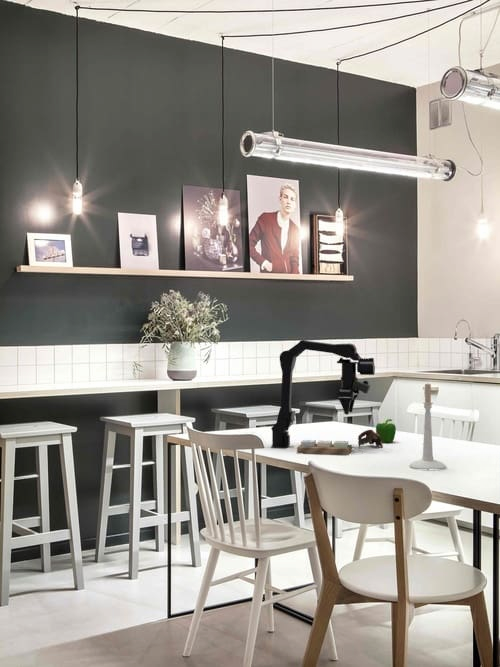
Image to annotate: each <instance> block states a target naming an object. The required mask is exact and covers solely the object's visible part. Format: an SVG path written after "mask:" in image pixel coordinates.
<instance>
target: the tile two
mask: <svg viewBox="0 0 500 667" xmlns="http://www.w3.org/2000/svg"><path fill="white" fill-rule="evenodd" d="M316 444H317V447H332V444H333V440H318V441H317V442H316Z"/></svg>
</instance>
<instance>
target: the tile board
mask: <svg viewBox="0 0 500 667" xmlns="http://www.w3.org/2000/svg"><path fill="white" fill-rule="evenodd" d="M352 451H353V444H348V448H334V443H332V447H317V443H316V446H315V447H305V446H301V444H299V445H298V446H296V454H297V453H303V454H304V455H324V456H325V455H329V456H349V455H350V454H351V453H352ZM303 454H302V455H303Z"/></svg>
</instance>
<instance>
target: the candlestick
mask: <svg viewBox="0 0 500 667" xmlns="http://www.w3.org/2000/svg"><path fill="white" fill-rule="evenodd" d="M431 386H432V385H431V383H425V384H424V402H422V403H423V408H424V409H425V413H424V427H423V428H424V429H423V445H422V458H421V459H418V460H414V461H412V462H411V463H410V464H409V466H408V467H409V468H410V469H414V470H418V469H427V470H426V471H430V470H429V469H443V470H446V469H447V465H446V464H445V463H443V462H442V461H439V460H437V459H434V456H433V454H434V453H433V434H432V432H433V431H432V413H431V409H432V408H433V406H432V405H433V402H432V399H431V398H432V397H431V396H432V395H431V394H432V393H431V392H432V387H431ZM445 468H446V469H445Z"/></svg>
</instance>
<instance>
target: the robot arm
mask: <svg viewBox="0 0 500 667" xmlns="http://www.w3.org/2000/svg"><path fill="white" fill-rule="evenodd" d="M305 350H307V351H315V352H320V353H321V352H322V353H329V354H334V355H336V356H339V359H338V360H337V361H336V364H341V377H340V381H341V387H340V389H339V390H338V391H337V392H336V393H337V394H336V395H337V399H338V400H339V403H340V405H341V406H342V409H343V412H344V414H345V415H349V414H350V413H353V409H354V405H355V401H356V399H357V398H358V397H359V396H360V394H361V392H362V393H364V394H366V395H367V394H368V393H369V392H370V389H371V384H369V381H367V380H364V381H360V380H358V377H357V373H359V375H361V376H363V375H364V376H374V375H375V372H376V365H375V358H374V357H370V358H365V357H363V358H362V357H361V356H360V354H359V353H358V351H357V350H358V349H357V347H356V345H355V344H353V343H351V342H350V343H328V342H320V341H313V340H307V339H301V340H300V341H299V342H298V343H297V344H295V345H293V346H292V347H291V348H289V349H288V350H284V351H282V352H281V353H280V354H279V364H280V369H281V372H282V373H281V391H280V392H281V393H280V394H281V395H280V408H279V411H278V415H277V418H276V423H275V424H274V425H273V426H272V427H271V428H270V429H271V434H272V435H271V436H272V437H271V438H272V439H271V440H272V441H271V442H272V443H271V444H272V445H271V448H280V449H281V448H283V449H287V448H289V447H290V445H291V435H290V433H289V429H290V428H291V426H293V425H294V422H295V421H296V418H295V415H296V410H293V409H292V392H293V390H292V388H293V374H294V373H293V371H294V368H295V365H296V361H297V357H299V356H300V355H301V354H303V353H304V352H305Z"/></svg>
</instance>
